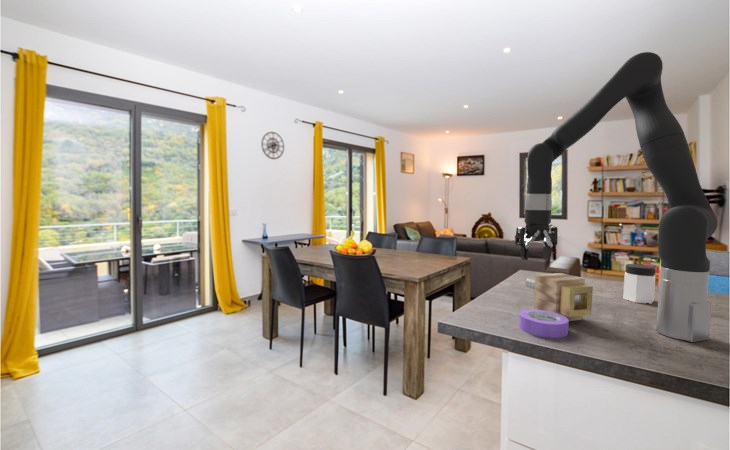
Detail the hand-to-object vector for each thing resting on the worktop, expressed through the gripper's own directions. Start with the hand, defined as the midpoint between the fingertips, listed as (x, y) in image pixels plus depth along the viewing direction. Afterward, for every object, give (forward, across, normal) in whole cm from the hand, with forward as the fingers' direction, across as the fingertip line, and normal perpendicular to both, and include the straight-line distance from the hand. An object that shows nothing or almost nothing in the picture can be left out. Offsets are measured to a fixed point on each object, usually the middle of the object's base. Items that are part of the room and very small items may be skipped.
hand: (535, 259), depth 113 cm
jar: (+16, +41, -4) cm, 44 cm away
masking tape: (+16, -12, -17) cm, 26 cm away
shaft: (+10, 0, -7) cm, 12 cm away
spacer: (+13, 0, -16) cm, 20 cm away
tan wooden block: (+15, 0, -10) cm, 18 cm away
